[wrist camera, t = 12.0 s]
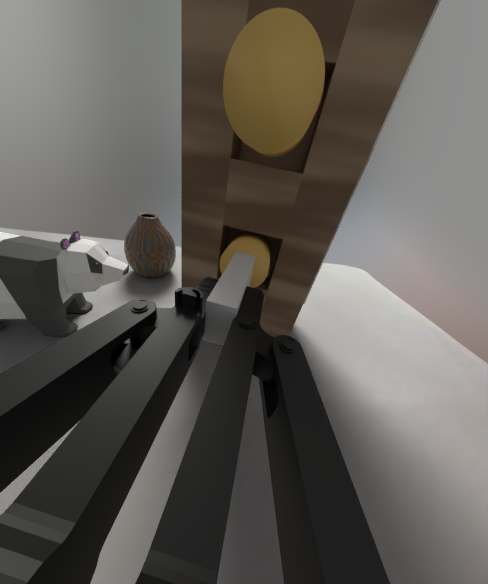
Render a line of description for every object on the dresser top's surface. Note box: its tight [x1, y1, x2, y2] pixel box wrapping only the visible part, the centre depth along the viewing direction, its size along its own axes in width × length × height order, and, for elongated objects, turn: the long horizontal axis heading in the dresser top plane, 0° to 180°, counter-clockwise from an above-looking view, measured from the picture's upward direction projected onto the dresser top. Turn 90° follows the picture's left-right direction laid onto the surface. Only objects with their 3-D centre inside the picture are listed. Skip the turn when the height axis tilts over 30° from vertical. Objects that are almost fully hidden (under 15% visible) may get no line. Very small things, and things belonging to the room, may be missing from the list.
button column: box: [182, 0, 440, 338], centre depth 16 cm, size 8×13×34 cm, turn 79°
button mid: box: [223, 8, 325, 157], centre depth 9 cm, size 4×4×4 cm
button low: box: [220, 231, 272, 288], centre depth 17 cm, size 4×4×4 cm
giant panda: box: [0, 231, 129, 337], centre depth 18 cm, size 15×6×10 cm, turn 100°
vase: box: [124, 213, 176, 278], centre depth 29 cm, size 7×7×9 cm
